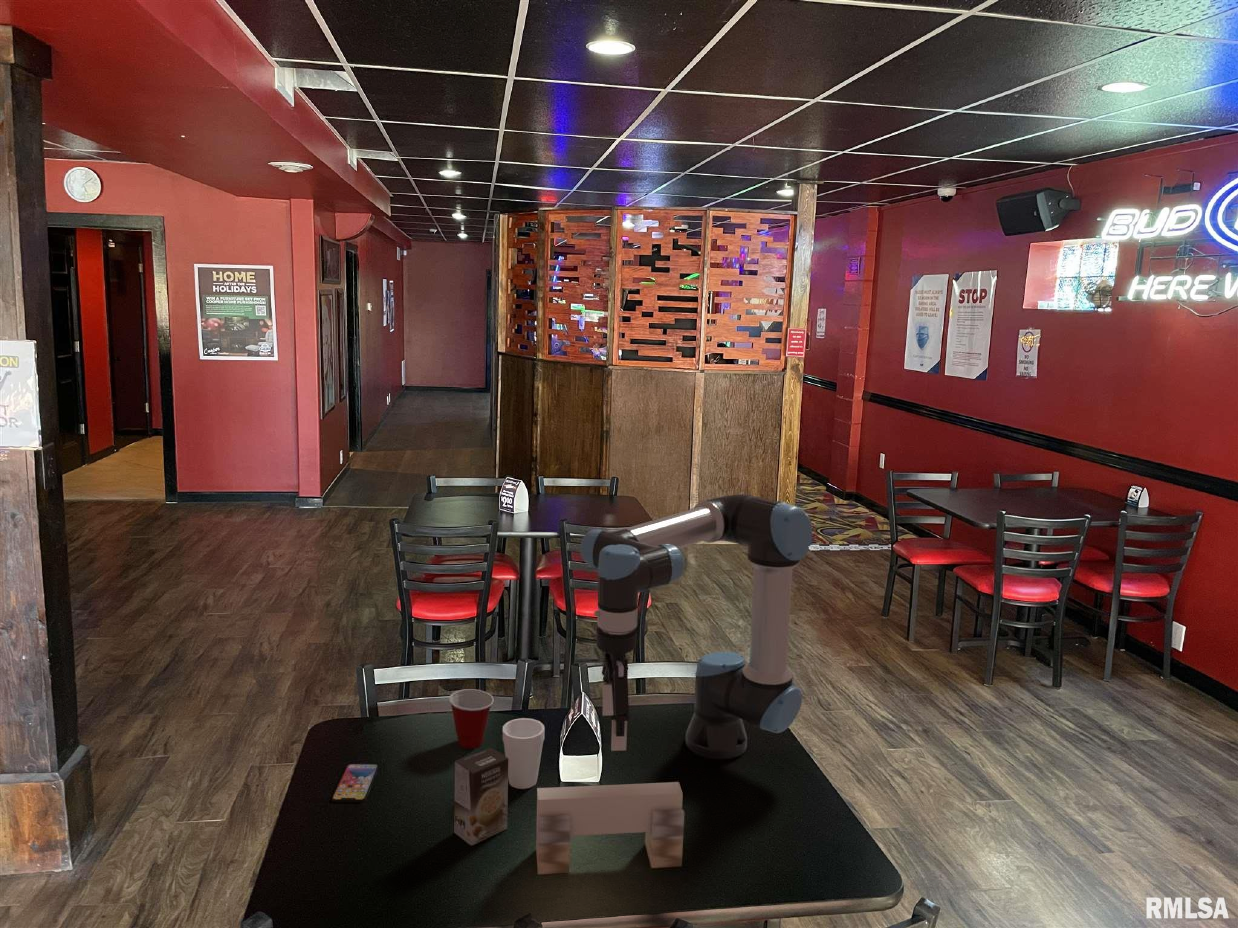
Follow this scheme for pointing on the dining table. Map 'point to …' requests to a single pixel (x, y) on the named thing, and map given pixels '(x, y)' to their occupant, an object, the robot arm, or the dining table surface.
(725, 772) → the dining table surface
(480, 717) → the plastic cup
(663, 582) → the robot arm
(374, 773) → the smartphone
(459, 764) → the coffee box
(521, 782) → the foam cup
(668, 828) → the brackets
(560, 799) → the rail
